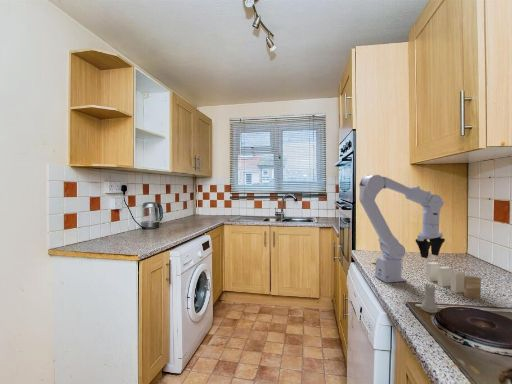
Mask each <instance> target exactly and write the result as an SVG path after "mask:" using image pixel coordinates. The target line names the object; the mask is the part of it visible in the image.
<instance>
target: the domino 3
mask: <svg viewBox="0 0 512 384" xmlns="http://www.w3.org/2000/svg"><path fill="white" fill-rule="evenodd" d="M464 276H466V272H464V271H461V270H457V271H451V286H450V291H451V292H452V293H456V294H457V293H464Z"/></svg>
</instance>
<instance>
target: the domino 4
mask: <svg viewBox="0 0 512 384" xmlns="http://www.w3.org/2000/svg"><path fill="white" fill-rule="evenodd" d="M481 287H482V278H481V277H479V276H471V275H469V276H468V275H465V276H464V292H463V296H464V297H465V298H466V299H474V298H476V300H481Z"/></svg>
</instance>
